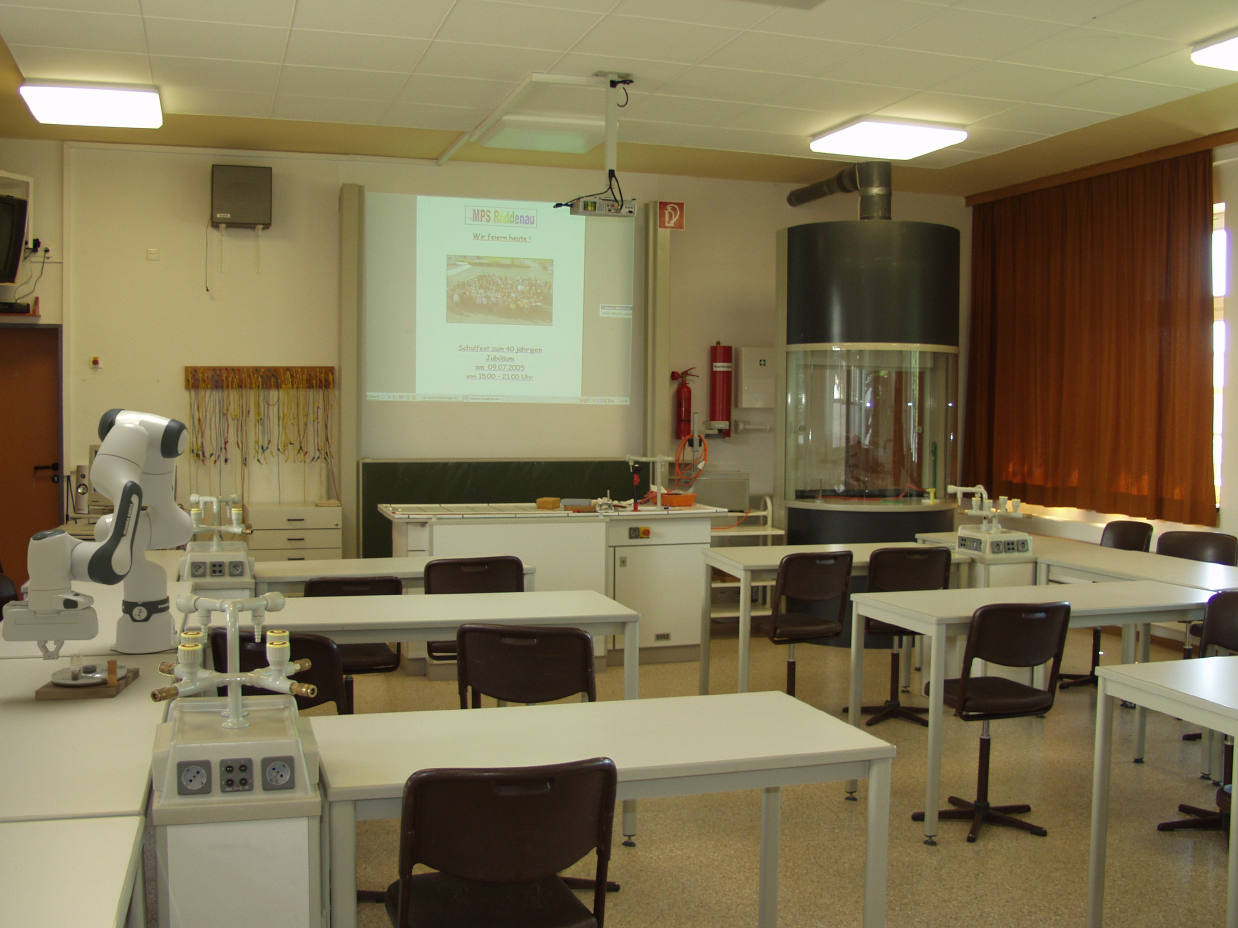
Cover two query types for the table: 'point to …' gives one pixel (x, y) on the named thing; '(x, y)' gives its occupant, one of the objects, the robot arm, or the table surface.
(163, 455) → the robot arm
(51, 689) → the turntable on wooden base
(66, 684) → the dial
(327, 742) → the table surface
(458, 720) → the table surface
